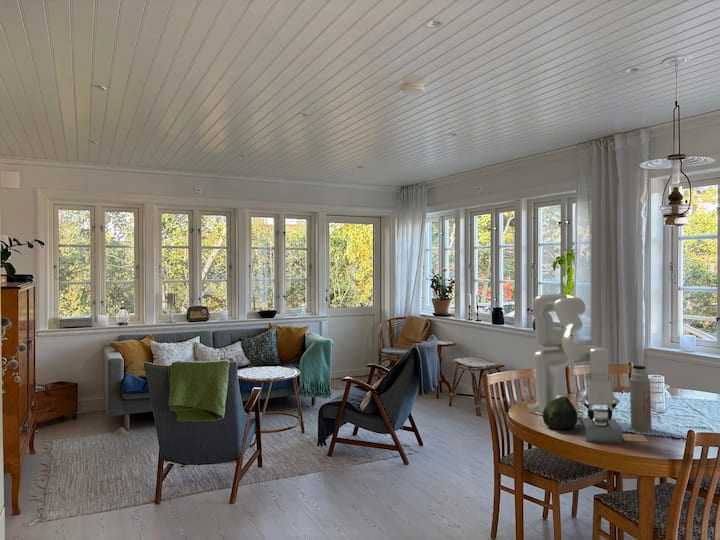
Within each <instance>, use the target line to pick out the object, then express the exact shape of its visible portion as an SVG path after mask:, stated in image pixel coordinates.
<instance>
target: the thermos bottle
mask: <svg viewBox="0 0 720 540" xmlns="http://www.w3.org/2000/svg"><path fill="white" fill-rule="evenodd" d="M632 370H633V371H632V372H631V373H630V376H631V377H630V378H629V399H630V400H629V402H630V403H629V404H630V428H632V429H631V430H633V429H634V430H633V431H635V430H637V431H636V432H640V431H644V432H643V433H646V432H647V431H649V432H651V431H652V411H651V408H652V405H651V401H652V400H651V380H650V378H649V374H648V373H647V371H646V366H643V365H633V366H632ZM647 433H648V432H647Z"/></svg>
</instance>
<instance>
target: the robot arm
mask: <svg viewBox="0 0 720 540" xmlns="http://www.w3.org/2000/svg"><path fill="white" fill-rule="evenodd" d="M531 307H532V308H531V309H532V312H533V316H534V322H535V325H534V326H535V342H536V345H537V346H538V347H541V348H550V349H540V350H537V351H535V353H534V354H533V358H532V360H533V364H534V365H533V366H534V369H535V371H534V372H535V383H536V384H535V386H536V402H535V403H533V404H530V403H529V404H528V403H526V405H527V409H529V410H533V413H534V414H535V415H537V414H538V416H542V415H543V411H544V409H545V406H546V405H547V403H549V402H551V401H553V400H555V399H557V397H558V396H557V378H556V375H555V373H554V372H553V371H552V370H553V369H564V368H566V367H568V365H569V363H570V362H571V363H573V364H584V363H585V364H587V363H588V364H589V365H588V366H589V367H588V369H589V372H588V373H587V374H585V378H588V379H587V384H586V390H585V391H586V392H585V395H584V396H582V397H581V398H580V399H579V402H580V403H581V404H582V405H583V407H585V408H586V409H587V418H590V419H591V420H592V419H593V411H592V409H593V406H607V409H606V410H608V411H609V420H611V419H612V418H613V411H614V409H615V408H616V407H617V405H618V404H620V402H621V401H620V400H619V399H618V398H617V397H615V396H614V390H613V385H612V381H611V379H609V378H610V376H609V373H610V372H609V351H608V349H607V348H604V347H600V346H597V345H595V344H588V345H587V344H586V345H575V343H574V342H573V338H572V335H574V334H576V333H577V332H580V331H581V329H582V328H583V325H584V324H583V321H582V320H581V318H580V317H579V316H581V315H583V314H585V311H586V308H587V307H586V303H585V302H584V301H583V299H582V298H580V297H578V296H574V295H572V294H571V295H570V294H566V293H558V294H557V293H555V294H553V293H550V294H548V293H547V294H541V295H537V296H535V298H534V299H533V300H532V306H531ZM549 312H555V314H556V316H557V318H558V320H559V323H560V324H561V326H562V327H554V319H553V316H552V315H551V314H550V313H549ZM553 347H554V349H553ZM551 348H552V349H551ZM587 402H588V403H587Z"/></svg>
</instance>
